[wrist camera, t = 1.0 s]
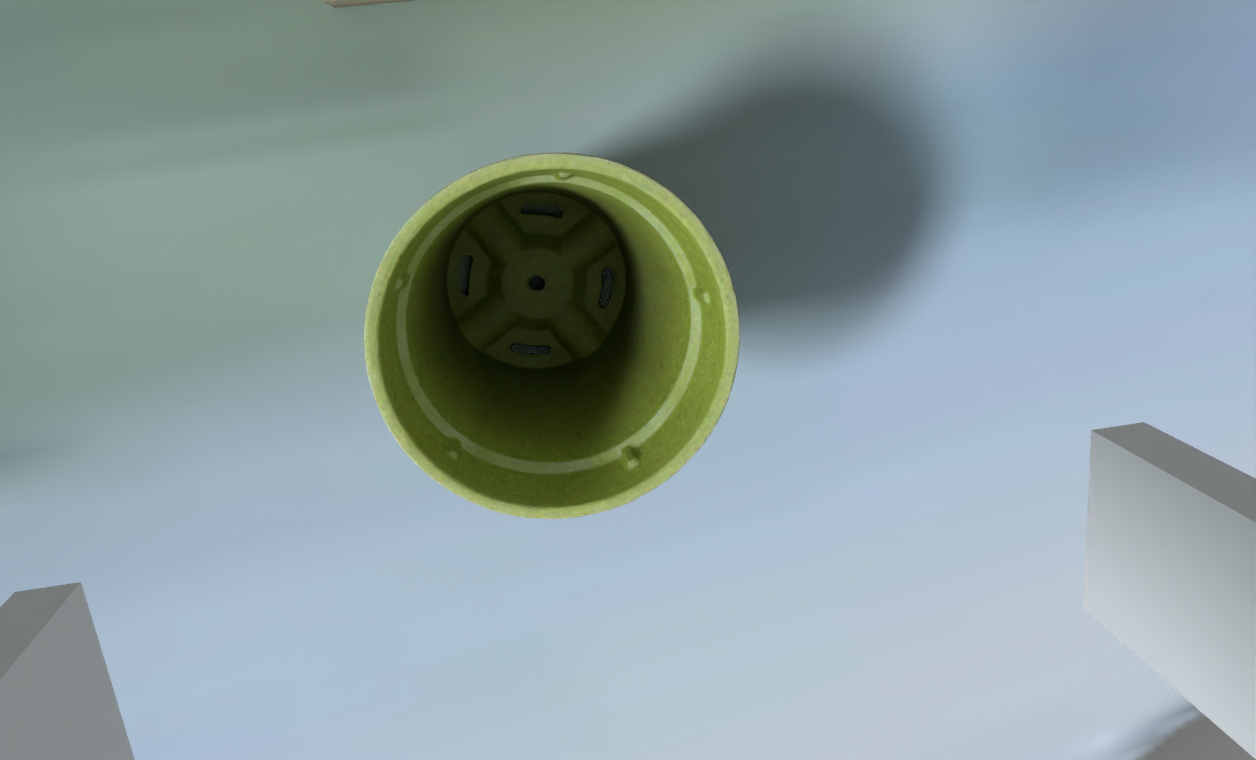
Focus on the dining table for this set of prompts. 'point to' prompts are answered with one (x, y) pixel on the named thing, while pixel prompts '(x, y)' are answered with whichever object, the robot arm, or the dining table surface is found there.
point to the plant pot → (552, 336)
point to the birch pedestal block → (357, 2)
